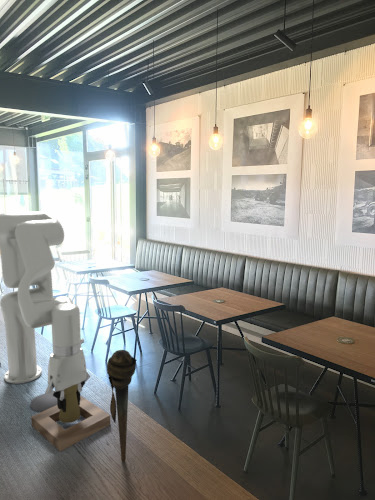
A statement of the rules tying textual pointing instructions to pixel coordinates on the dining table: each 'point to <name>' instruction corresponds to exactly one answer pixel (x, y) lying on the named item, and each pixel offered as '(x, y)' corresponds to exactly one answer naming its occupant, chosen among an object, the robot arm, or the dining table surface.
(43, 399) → the coaster
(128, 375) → the decorative torch
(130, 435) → the dining table surface
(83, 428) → the square frame
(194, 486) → the dining table surface
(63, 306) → the robot arm
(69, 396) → the cork
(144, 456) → the dining table surface
